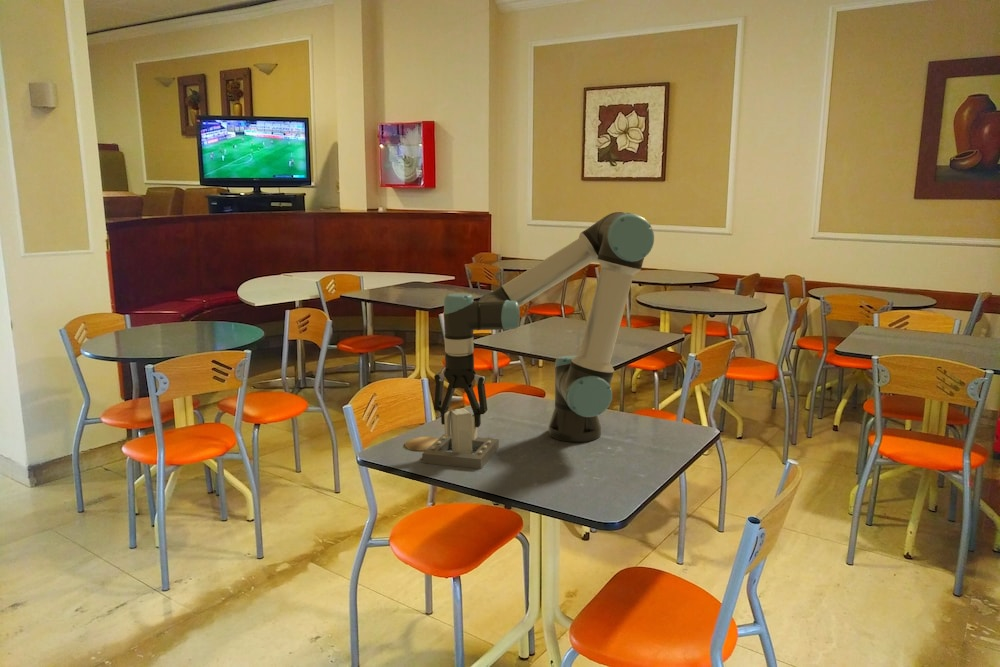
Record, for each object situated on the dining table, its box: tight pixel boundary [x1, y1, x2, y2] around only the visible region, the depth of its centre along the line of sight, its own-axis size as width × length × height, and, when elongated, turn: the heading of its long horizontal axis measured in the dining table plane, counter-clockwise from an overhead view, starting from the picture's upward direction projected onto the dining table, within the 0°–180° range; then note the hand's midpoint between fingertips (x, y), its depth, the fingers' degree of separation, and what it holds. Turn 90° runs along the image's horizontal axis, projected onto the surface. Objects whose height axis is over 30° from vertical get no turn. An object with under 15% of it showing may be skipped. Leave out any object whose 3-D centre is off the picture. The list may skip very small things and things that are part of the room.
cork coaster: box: [404, 436, 439, 452], centre depth 207 cm, size 10×10×1 cm
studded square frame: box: [422, 433, 500, 469], centre depth 199 cm, size 16×16×3 cm
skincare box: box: [449, 407, 474, 454], centre depth 198 cm, size 6×4×12 cm
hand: (461, 437), depth 198 cm, fingers closed on skincare box, 7 cm apart
